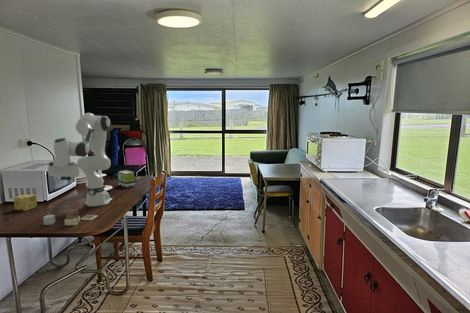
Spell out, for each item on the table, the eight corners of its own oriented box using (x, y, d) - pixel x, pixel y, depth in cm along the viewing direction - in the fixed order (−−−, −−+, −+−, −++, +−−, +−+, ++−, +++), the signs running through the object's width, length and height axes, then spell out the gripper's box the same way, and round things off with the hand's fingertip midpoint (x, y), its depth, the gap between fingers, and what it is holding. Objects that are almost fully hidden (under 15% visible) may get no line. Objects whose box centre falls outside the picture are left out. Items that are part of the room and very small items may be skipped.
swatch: (87, 215, 210) (87, 214, 210) (98, 216, 209) (98, 214, 209) (80, 219, 202) (80, 218, 202) (91, 219, 202) (91, 218, 201)
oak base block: (69, 221, 199) (69, 216, 198) (80, 221, 199) (80, 215, 199) (64, 225, 192) (64, 219, 191) (76, 225, 192) (75, 219, 192)
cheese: (26, 211, 219) (24, 198, 218) (13, 210, 221) (12, 197, 220) (37, 206, 229) (36, 194, 228) (25, 206, 231) (24, 193, 230)
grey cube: (47, 222, 197) (46, 215, 196) (55, 221, 198) (54, 214, 197) (43, 225, 192) (43, 217, 191) (52, 224, 193) (51, 217, 192)
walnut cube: (71, 216, 197) (70, 209, 197) (78, 216, 197) (77, 209, 196) (66, 219, 193) (66, 211, 192) (73, 219, 192) (73, 212, 192)
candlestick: (92, 188, 288) (90, 160, 284) (116, 188, 286) (115, 160, 282) (79, 193, 268) (77, 163, 264) (105, 194, 266) (104, 164, 262)
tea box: (118, 185, 300) (117, 171, 298) (127, 183, 308) (126, 169, 306) (125, 187, 290) (125, 173, 288) (135, 186, 298) (134, 171, 296)
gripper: (80, 162, 198) (82, 182, 200) (51, 161, 199) (53, 181, 202) (74, 164, 192) (76, 184, 194) (45, 163, 193) (47, 183, 196)
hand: (64, 182), depth 198 cm, fingers open, 8 cm apart
